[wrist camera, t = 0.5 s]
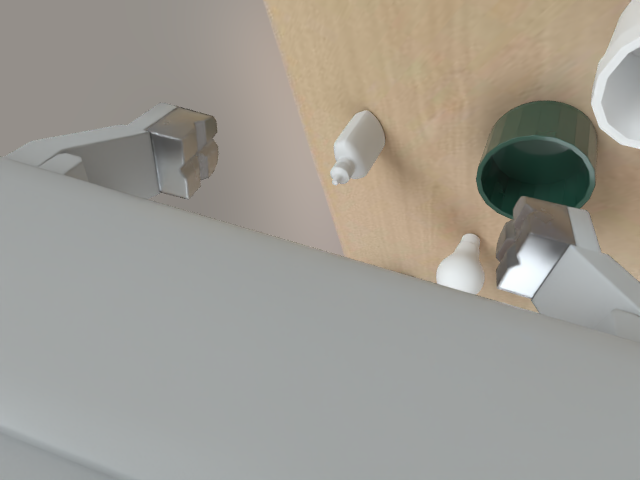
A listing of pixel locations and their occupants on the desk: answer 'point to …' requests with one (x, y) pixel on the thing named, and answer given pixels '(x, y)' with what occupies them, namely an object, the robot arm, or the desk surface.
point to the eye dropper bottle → (357, 147)
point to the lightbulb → (463, 267)
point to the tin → (539, 157)
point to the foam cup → (620, 81)
